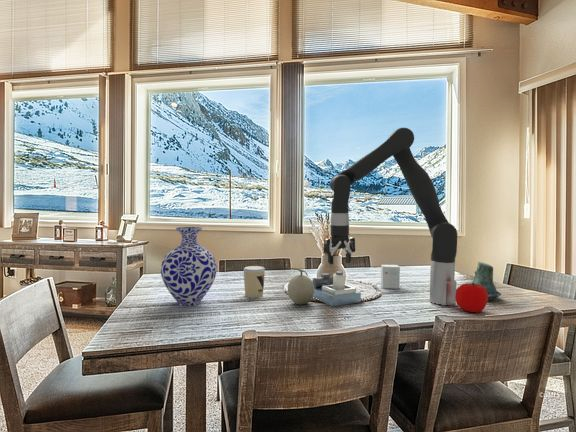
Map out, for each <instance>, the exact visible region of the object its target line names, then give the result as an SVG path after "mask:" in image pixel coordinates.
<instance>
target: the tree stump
mask: <svg viewBox="0 0 576 432" xmlns="http://www.w3.org/2000/svg"><path fill="white" fill-rule="evenodd" d="M469 283H471V284H472V283H474V284H478V285H481V286H483V287H484V288H485V289H486V291H487V293H488V300H491V301H492V300H493V299H496V298H498V297H500V296H502V293H501V292H500V291H498V290H497V287H496V286H495V284H494V266H492V265H490V264H488V263H485V262H482V261H478V263H477V267H476V270H475V271H474V277H473V279H472V280H471V281H470V282H469Z"/></svg>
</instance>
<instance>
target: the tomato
mask: <svg viewBox="0 0 576 432" xmlns="http://www.w3.org/2000/svg"><path fill="white" fill-rule="evenodd" d="M455 300H456V305H457V306H458V307H459V308H460V309H462V310H464V311H466V312H468V313H473V312H476V313H482V312H483V310H484V309H486V306H487V303H488V302H489V301H488V293H487V291H486V289H485V288H484V287H483V286H481V285H478V284H474V283H472V284H471V283H470V282H465V283H462V284H461V285H460V286H458V287H457V288H456V295H455Z"/></svg>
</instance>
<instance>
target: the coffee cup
mask: <svg viewBox="0 0 576 432" xmlns="http://www.w3.org/2000/svg"><path fill="white" fill-rule="evenodd" d="M265 271H266V268H265V267H264V266H260V265H251V266H245V267H244V268H243V283H244V294H245V295H244V296H245V297H247V298H260V297H263V296H264V289H265V288H264V286H265Z"/></svg>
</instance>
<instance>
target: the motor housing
mask: <svg viewBox="0 0 576 432" xmlns="http://www.w3.org/2000/svg"><path fill="white" fill-rule="evenodd" d="M311 281H312V283H313V286H314V294H313V297H315V298H317V299H319V300H321V301H320V302H322V303H324V304H325V305H328V306H330V307H336V306H345V305H351V304H358V303H361V300H362V294H361V292H360V291H358V290H357V287H354V286H352V285H348V284H345V289H341V290H334V289H333V275H331V274H330V273H327V272H326V273H321V274H320V277H314V278H313V279H312V280H311ZM313 297H312V298H313ZM315 298H314V299H315ZM317 299H316V300H317ZM319 300H318V301H319Z"/></svg>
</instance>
